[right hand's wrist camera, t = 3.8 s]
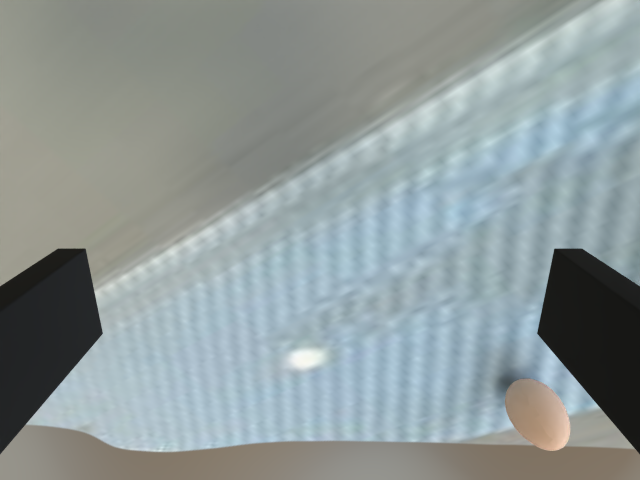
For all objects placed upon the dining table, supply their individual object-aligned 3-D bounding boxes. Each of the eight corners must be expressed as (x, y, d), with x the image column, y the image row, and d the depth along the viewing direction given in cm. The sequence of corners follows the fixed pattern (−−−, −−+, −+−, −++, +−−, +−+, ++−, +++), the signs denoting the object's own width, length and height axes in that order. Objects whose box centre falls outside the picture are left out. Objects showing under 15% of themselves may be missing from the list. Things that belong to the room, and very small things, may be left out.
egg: (504, 411, 49) (538, 474, 41) (487, 377, 47) (520, 436, 39) (549, 393, 48) (594, 454, 40) (534, 358, 46) (577, 414, 38)
